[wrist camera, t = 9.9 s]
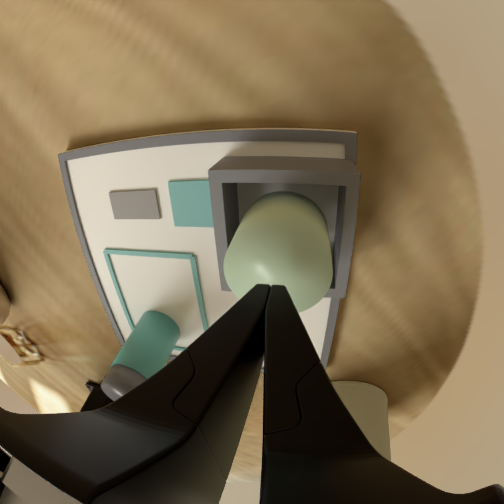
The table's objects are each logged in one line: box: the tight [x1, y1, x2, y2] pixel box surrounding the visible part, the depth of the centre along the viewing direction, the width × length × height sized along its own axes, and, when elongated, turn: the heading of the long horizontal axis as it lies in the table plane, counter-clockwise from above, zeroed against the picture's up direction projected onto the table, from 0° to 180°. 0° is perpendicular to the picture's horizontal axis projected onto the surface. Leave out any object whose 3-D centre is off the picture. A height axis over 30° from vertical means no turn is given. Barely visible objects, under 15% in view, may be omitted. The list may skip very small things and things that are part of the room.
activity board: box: [58, 128, 361, 373], centre depth 16 cm, size 16×16×3 cm
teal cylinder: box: [101, 311, 180, 401], centre depth 17 cm, size 3×3×6 cm
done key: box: [223, 191, 333, 313], centre depth 11 cm, size 4×4×3 cm
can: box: [331, 381, 391, 461], centre depth 17 cm, size 9×9×12 cm
